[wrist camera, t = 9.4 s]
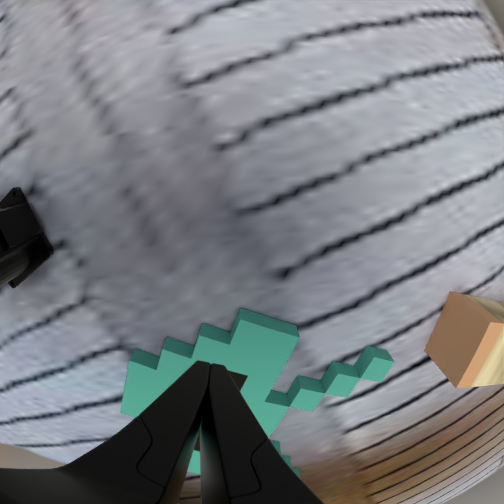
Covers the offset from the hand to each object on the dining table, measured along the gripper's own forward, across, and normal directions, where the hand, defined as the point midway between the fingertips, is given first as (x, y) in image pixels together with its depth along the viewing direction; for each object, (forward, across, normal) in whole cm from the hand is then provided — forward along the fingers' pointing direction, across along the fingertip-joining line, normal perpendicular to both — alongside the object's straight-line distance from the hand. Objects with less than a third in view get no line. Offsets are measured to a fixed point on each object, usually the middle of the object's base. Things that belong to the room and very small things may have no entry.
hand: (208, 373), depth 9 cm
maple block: (+10, -19, +3) cm, 22 cm away
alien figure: (+14, -4, +14) cm, 20 cm away
